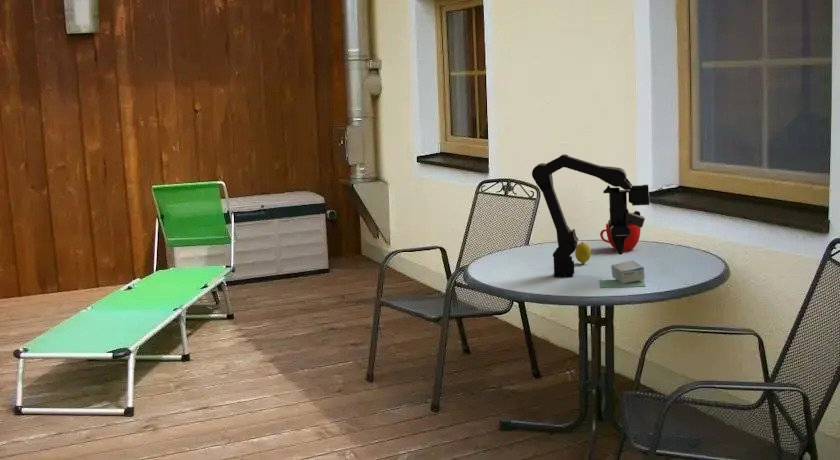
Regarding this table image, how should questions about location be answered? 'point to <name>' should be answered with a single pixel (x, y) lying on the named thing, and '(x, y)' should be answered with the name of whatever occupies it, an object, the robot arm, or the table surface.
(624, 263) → the medicine box
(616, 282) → the mat
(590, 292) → the table surface
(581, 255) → the lemon
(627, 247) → the ceramic cup
